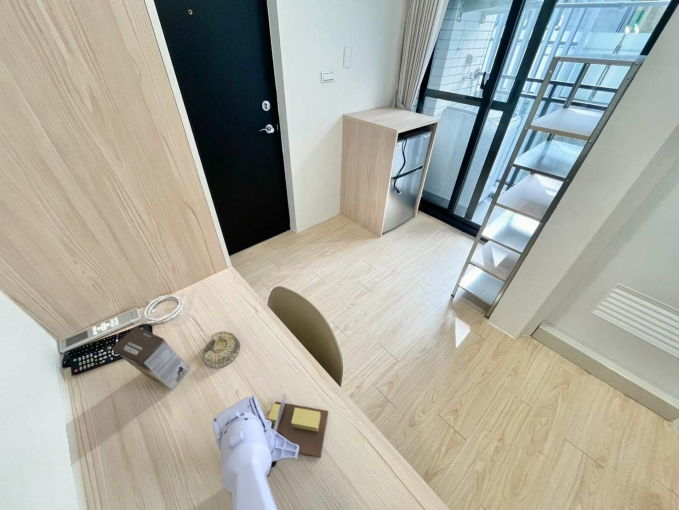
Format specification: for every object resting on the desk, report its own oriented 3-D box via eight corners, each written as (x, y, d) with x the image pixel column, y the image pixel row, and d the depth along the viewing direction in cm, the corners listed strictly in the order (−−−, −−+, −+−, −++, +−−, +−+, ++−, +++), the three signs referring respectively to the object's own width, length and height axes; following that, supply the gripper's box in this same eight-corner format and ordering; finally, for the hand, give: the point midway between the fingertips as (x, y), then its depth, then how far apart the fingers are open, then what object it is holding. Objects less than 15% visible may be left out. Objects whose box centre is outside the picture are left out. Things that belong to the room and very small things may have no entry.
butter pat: (278, 424, 62) (275, 420, 60) (270, 422, 62) (268, 418, 60) (282, 409, 64) (280, 404, 62) (275, 407, 64) (272, 403, 62)
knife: (268, 476, 55) (265, 474, 53) (259, 474, 55) (255, 472, 53) (289, 398, 65) (287, 393, 63) (281, 397, 66) (279, 392, 63)
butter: (317, 431, 61) (317, 428, 59) (292, 427, 62) (290, 423, 59) (320, 416, 63) (320, 411, 61) (296, 411, 64) (294, 407, 62)
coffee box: (146, 377, 70) (109, 348, 59) (166, 355, 75) (135, 324, 64) (172, 391, 68) (139, 364, 57) (191, 368, 72) (164, 338, 61)
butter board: (320, 457, 58) (320, 456, 58) (263, 446, 60) (262, 445, 59) (328, 412, 65) (328, 410, 64) (276, 402, 66) (275, 401, 65)
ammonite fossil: (242, 333, 80) (239, 324, 76) (238, 366, 73) (234, 358, 69) (207, 336, 79) (202, 326, 75) (199, 370, 72) (193, 361, 68)
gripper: (300, 419, 49) (306, 437, 58) (225, 406, 51) (243, 425, 60) (289, 468, 44) (298, 479, 53) (206, 451, 46) (229, 465, 55)
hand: (268, 453), depth 56 cm, fingers closed on knife, 2 cm apart
